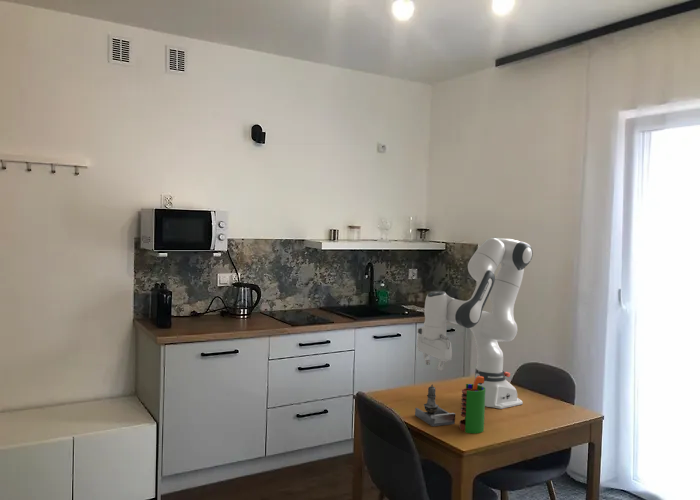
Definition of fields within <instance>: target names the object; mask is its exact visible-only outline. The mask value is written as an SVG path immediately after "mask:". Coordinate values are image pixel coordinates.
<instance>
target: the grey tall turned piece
mask: <svg viewBox="0 0 700 500" xmlns="http://www.w3.org/2000/svg"><path fill="white" fill-rule="evenodd" d="M426 396H427V401H426V403H424V404H423V407H424V410H425V411H424V412H425V413H427V414H428V415H430V416H431V415H436V414H437V413H435V412H436V411H437V409H438V407H440V406H439V405H438V404H437V403H436V398H437V394H436V387H435V386H434V384H431V386H429V387H428V390H427V395H426Z"/></svg>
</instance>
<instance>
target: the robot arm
mask: <svg viewBox="0 0 700 500" xmlns="http://www.w3.org/2000/svg"><path fill="white" fill-rule="evenodd" d="M533 254H534V253H533V248H532V246H531V244H529V243H527V242H524V241H519V240H515V239H513V238H501V237H489V238H487V239H486V240H485V241H484V242H483V243H481V244H480V245H479V247H478V248H477V249H476V251H475V252H474V253H473V255H472V256H471V257H470V260H469V261H468V263H467V270H468V273H469V275H470V276H471V278H472V279H473V280H475V281H476V282H477V283H476V284H477V285H476V286H475V289H474V291H473V293H472V295H471V297H470V298H469V299H468V300H461V299H457V298H454V297H451V296H449V295H448V294H447V293H446V291H443V290H433V291H429V292H428V293H427V295H426V298H425V300H424V301H425V302H424V314H423V315H424V322H423V326H422V327H418V328H417V330H416V332H417V333H416V334H418V335H417V337H416V339H417V341H416V343H417V345H416V346H417V350H418V351H419V352H421V353H422V356H423V359H424V365H426V366H427V365H431V359H430V356H431V357H433V358H435V359H437V360H438V365H437V367H436V368H437V371H440V372H442V371H443V370H444V365H445V364H446V362H450V361H452V358H453V351H452V350H453V349H452V343H451V341H450V339H449V337H448V336H447V325H448V324H447V323H451V324H454V325H457V326H458V325H459V326H460V327H463V328H467V329H469V330H470V331H471V333H472V335H473V337H474V342H475V347H476V368H475V370H474V379H475V378H476V377H477V376H482V377H484V383H478V385H480V386H483V387H485V407H488V408H496V409H502V410H503V409H507V408H510V407H515V406H520V405H523V402H524V401H523V400H521V399H520V398H519V397H518V391H517V389H516V387H515V386H514V385H512V384H511V383H510V382H509V381H508V380H507V378H509V377H511V372H508V371H504V370H503V368H504V352H503V350H502V349H501V347H500V346H499V343H498V342H511V341H513V340H514V339H515V338H516V336H517V334H518V329H519V328H518V324H517V322H516V320H515V313H514V310H515V303H516V301H517V297H518V294H519V291H520V288H521V286H522V283H523V278H524V272H525V268H526V267H527V266H528V265H529V264H530V263H531V260H532V259H533V256H534V255H533ZM499 266H500V268H499ZM498 268H499V269H498ZM497 269H498V272H497V274H496V275H495V273H496V271H497ZM488 298H489V300H490V302H491V312H489V311H486V310H483V309H484V307H485V305H486V303H487V301H488Z"/></svg>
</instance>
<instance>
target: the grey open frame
mask: <svg viewBox="0 0 700 500" xmlns="http://www.w3.org/2000/svg"><path fill="white" fill-rule="evenodd" d="M414 411H415V412H414V413H415V414H414V416H415V417H417V418H418V419H420V420H422V421H423V422H425V423H426V424H428V425H429V426H431V427H438V426H439V427H440V426H448V425H449V426H450V425H455V424H456V413H455V412H449V411H447V410H445V409H443V408H442V407H440V406H439V407H438V409H437V411H436V412H435V413H437V414H436V415H431V416H430V415H428V414H427V413H425V412H426V411H424V410H422V409H420V408H418V407H415V409H414Z"/></svg>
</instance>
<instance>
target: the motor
mask: <svg viewBox="0 0 700 500" xmlns="http://www.w3.org/2000/svg"><path fill="white" fill-rule="evenodd" d="M473 381H474V382H473V383H465V388H462V389H461V393H462V394H461V403H460V404H461V408H460V409H461V412H460V416H461V417H463V418H464V419H461V420H460V421H459V429H460V430H461V431H463V432H465V433H466V434H480V433H483V432H484V430H485V410H486V409H485V408H486V406H485V387H483V386H480V385H478V383H484V377H482V376H477V377H476V378H475V377H474V380H473Z"/></svg>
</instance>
